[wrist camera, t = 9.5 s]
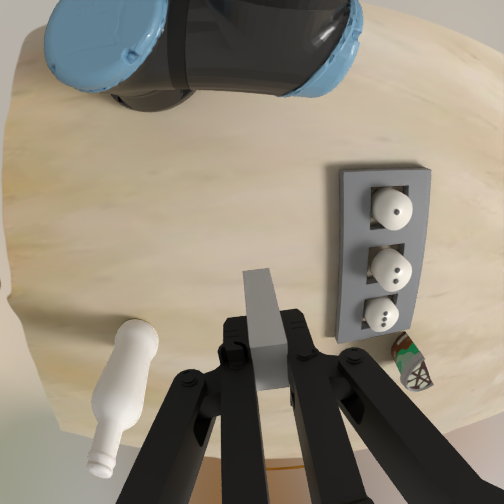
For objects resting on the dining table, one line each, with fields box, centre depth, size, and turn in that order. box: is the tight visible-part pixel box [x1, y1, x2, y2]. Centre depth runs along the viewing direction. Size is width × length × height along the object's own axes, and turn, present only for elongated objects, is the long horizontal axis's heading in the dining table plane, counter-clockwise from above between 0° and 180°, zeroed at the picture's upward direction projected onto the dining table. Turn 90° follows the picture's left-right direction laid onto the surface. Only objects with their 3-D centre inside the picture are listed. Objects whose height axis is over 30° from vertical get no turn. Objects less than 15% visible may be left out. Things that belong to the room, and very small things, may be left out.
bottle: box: [87, 319, 159, 478], centre depth 41 cm, size 8×8×30 cm
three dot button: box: [363, 295, 399, 332], centre depth 54 cm, size 6×6×4 cm
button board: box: [335, 168, 431, 344], centre depth 51 cm, size 32×16×2 cm, turn 5°
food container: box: [391, 332, 434, 392], centre depth 57 cm, size 12×6×10 cm, turn 35°
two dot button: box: [371, 248, 412, 292], centre depth 48 cm, size 6×6×4 cm
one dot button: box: [371, 187, 413, 230], centre depth 45 cm, size 6×6×4 cm
